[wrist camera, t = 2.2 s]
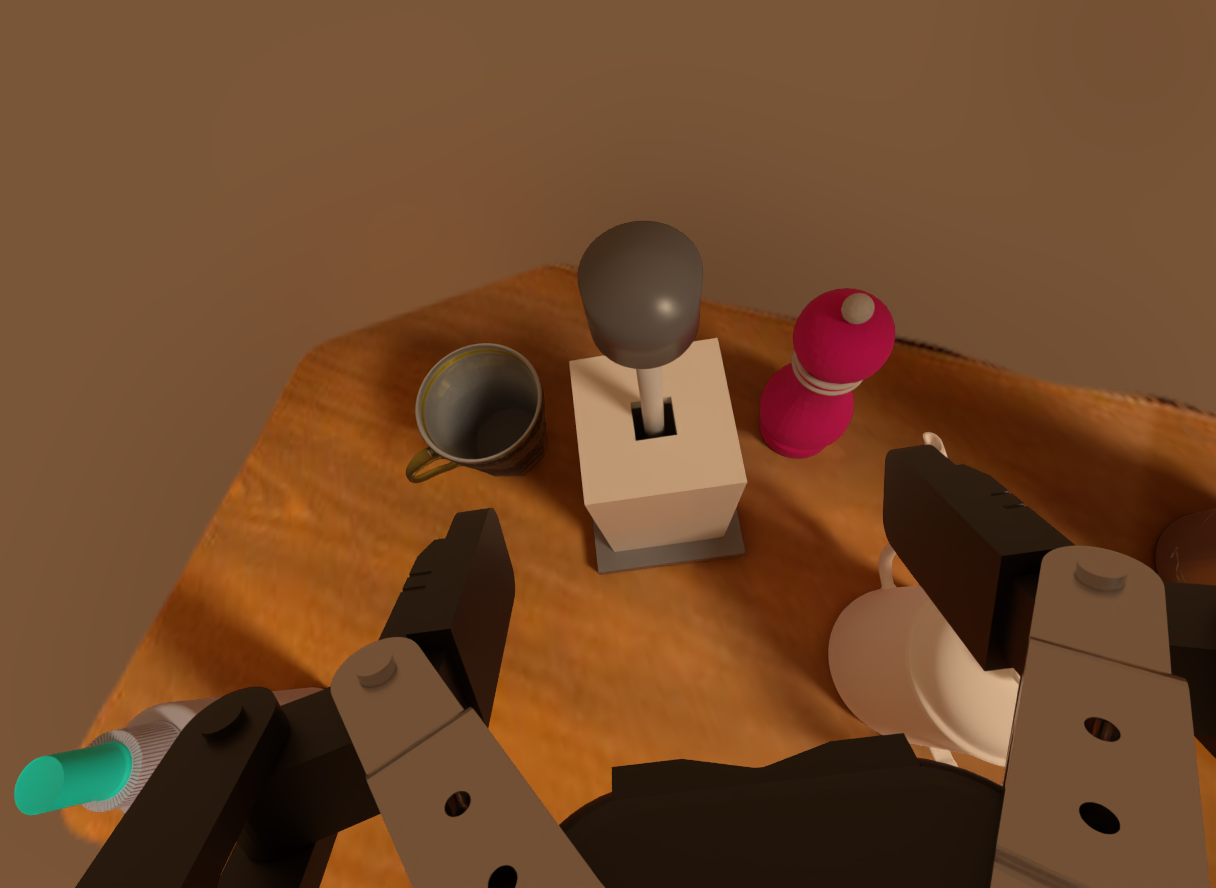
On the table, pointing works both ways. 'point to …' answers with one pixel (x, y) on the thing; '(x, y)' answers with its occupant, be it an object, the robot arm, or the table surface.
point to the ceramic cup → (480, 413)
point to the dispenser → (659, 463)
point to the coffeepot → (919, 672)
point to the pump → (642, 303)
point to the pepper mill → (825, 371)
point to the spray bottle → (113, 761)
